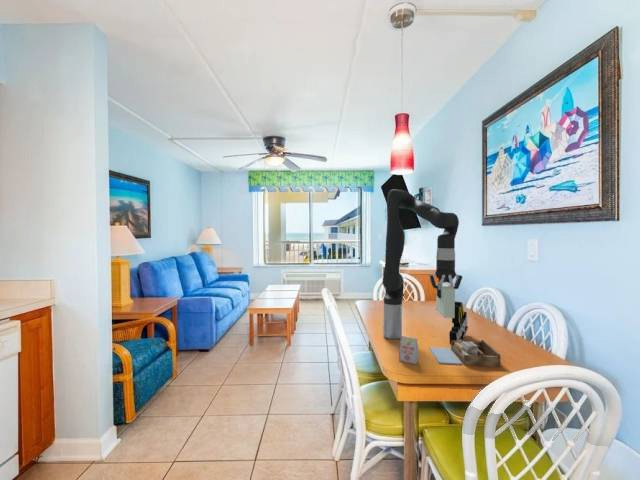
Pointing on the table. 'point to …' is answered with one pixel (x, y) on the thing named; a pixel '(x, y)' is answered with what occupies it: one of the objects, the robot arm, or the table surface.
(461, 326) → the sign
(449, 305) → the pale green slab
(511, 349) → the table surface
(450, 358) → the mat
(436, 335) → the table surface
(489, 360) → the wooden tray
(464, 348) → the offcut
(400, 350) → the printed grey box
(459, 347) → the offcut
